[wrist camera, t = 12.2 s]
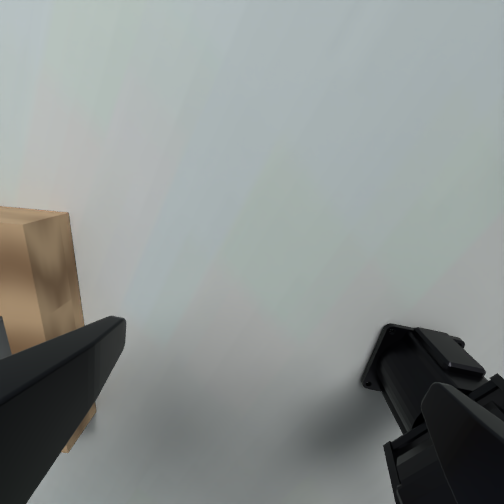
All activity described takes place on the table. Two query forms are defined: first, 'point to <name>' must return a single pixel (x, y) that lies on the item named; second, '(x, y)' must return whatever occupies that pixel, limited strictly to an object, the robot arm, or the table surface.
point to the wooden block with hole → (39, 282)
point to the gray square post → (4, 341)
